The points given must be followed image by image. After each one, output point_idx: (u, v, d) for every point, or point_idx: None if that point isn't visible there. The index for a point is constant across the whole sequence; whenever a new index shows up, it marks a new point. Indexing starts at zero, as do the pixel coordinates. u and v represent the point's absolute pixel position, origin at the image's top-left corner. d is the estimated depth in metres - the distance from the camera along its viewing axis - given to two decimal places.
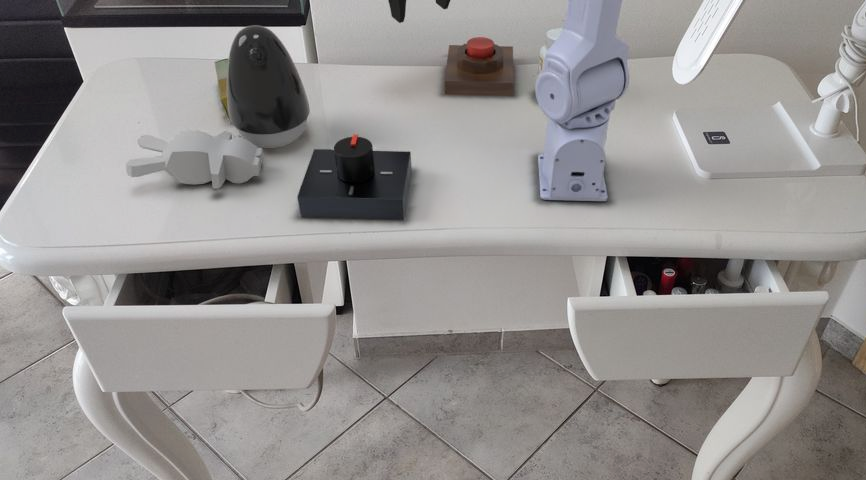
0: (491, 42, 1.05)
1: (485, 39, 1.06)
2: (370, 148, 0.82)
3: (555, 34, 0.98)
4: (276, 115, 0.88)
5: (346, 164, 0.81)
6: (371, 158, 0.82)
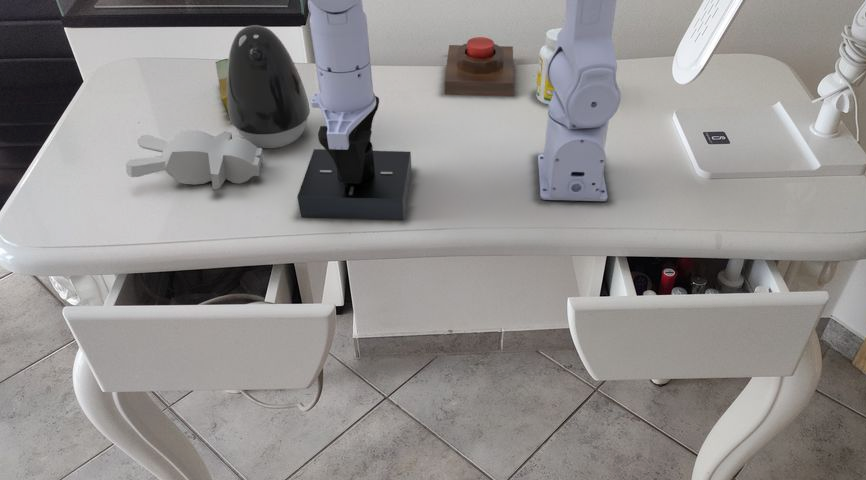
0: (491, 42, 1.05)
1: (485, 39, 1.06)
2: (370, 148, 0.82)
3: (555, 34, 0.98)
4: (276, 115, 0.88)
5: None
6: (371, 158, 0.82)
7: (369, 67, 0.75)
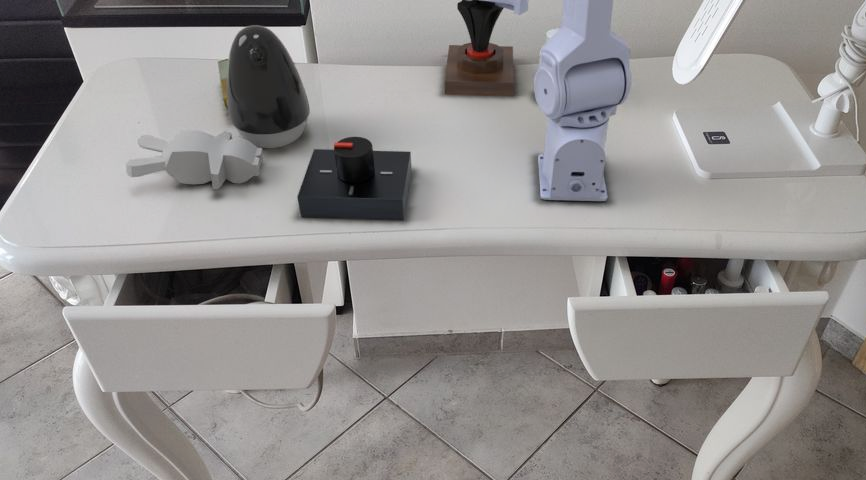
0: (491, 48, 1.06)
1: None
2: (358, 137, 0.83)
3: None
4: (276, 115, 0.88)
5: (371, 157, 0.82)
6: None
7: None
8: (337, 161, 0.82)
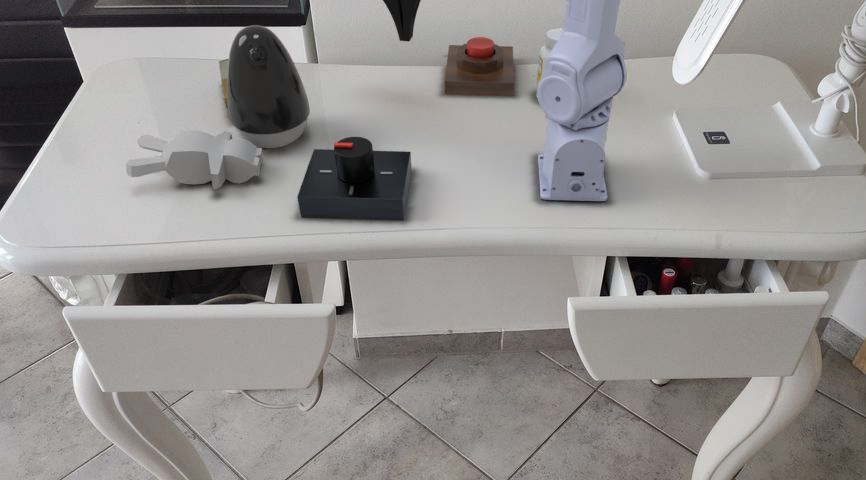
0: (491, 42, 1.05)
1: (485, 39, 1.06)
2: (358, 137, 0.83)
3: (555, 34, 0.98)
4: (276, 115, 0.88)
5: (371, 157, 0.82)
6: None
7: None
8: (337, 161, 0.82)
